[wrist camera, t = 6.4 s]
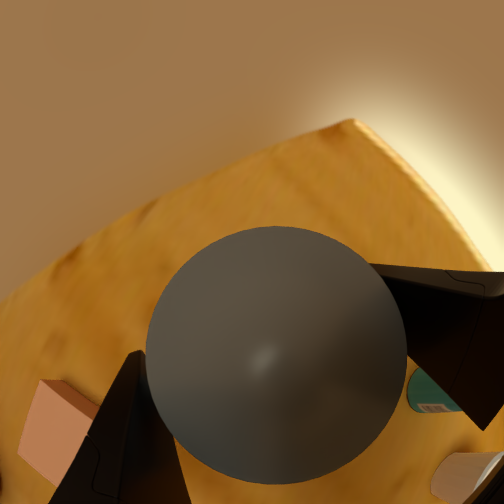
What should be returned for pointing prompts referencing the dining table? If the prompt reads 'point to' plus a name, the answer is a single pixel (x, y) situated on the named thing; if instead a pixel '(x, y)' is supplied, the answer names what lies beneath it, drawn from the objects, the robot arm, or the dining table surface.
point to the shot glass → (462, 475)
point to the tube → (428, 395)
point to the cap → (276, 355)
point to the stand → (55, 428)
